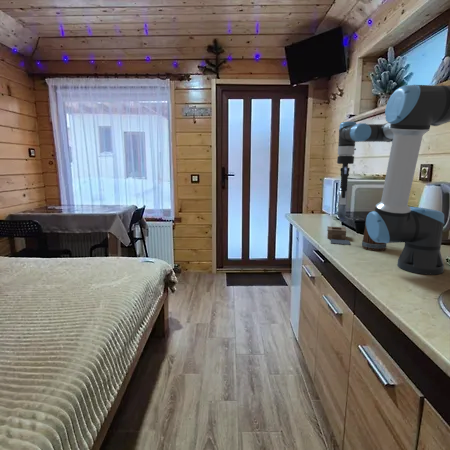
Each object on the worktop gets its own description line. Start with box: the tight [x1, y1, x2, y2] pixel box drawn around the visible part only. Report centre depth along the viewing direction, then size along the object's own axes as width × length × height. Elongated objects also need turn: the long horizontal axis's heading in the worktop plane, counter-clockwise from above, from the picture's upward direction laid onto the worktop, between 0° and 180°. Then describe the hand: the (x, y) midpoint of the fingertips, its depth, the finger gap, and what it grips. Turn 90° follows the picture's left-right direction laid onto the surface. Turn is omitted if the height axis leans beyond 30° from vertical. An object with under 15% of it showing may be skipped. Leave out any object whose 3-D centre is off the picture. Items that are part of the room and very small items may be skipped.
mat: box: [330, 239, 351, 246], centre depth 163 cm, size 9×9×1 cm
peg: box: [337, 188, 348, 219], centre depth 160 cm, size 4×4×14 cm
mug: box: [361, 221, 387, 252], centre depth 153 cm, size 16×11×15 cm
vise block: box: [326, 226, 347, 240], centre depth 173 cm, size 9×9×5 cm
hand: (342, 203), depth 160 cm, fingers closed on peg, 4 cm apart
